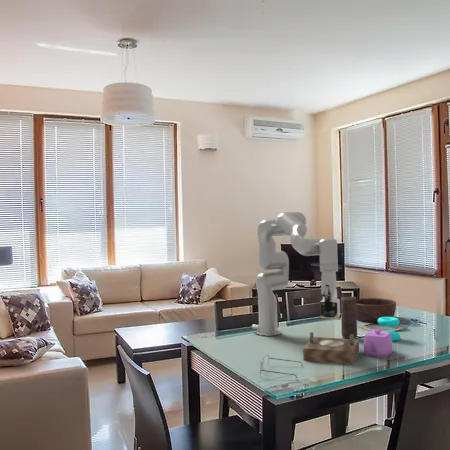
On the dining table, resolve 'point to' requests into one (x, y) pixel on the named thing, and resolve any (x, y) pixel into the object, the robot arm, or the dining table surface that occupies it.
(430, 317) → the dining table surface
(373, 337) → the teapot
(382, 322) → the donuts
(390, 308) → the wooden bowl
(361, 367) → the dining table surface
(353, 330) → the brown rusty cylinder
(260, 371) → the eyeglasses
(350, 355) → the stand
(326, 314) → the medicine bottle
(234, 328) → the dining table surface
